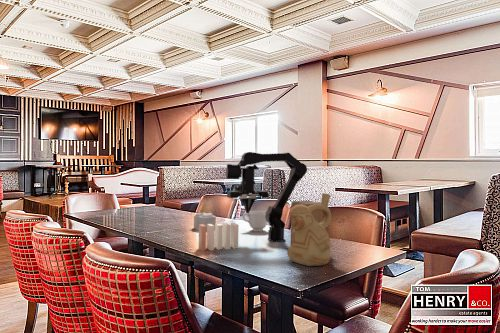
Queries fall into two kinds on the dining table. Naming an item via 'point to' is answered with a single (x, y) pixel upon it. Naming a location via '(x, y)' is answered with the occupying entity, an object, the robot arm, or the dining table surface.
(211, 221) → the lumpy-topped squat cylinder
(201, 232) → the domino
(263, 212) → the teacup
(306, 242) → the ceramic vessel
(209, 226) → the domino
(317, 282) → the dining table surface
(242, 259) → the dining table surface
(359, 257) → the dining table surface
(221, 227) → the domino
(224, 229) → the beige jagged slab
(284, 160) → the robot arm
